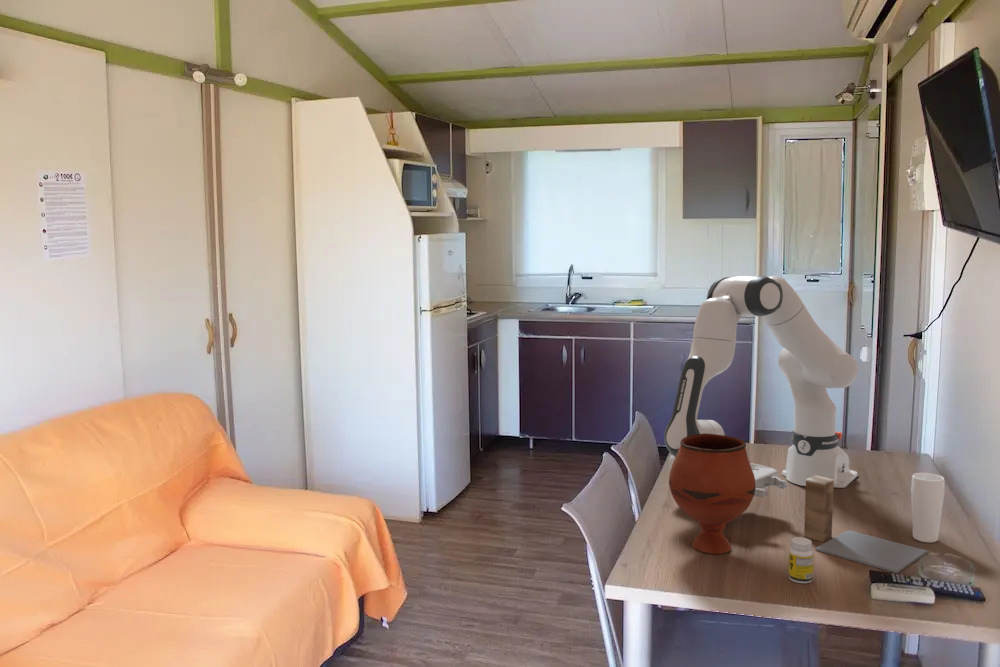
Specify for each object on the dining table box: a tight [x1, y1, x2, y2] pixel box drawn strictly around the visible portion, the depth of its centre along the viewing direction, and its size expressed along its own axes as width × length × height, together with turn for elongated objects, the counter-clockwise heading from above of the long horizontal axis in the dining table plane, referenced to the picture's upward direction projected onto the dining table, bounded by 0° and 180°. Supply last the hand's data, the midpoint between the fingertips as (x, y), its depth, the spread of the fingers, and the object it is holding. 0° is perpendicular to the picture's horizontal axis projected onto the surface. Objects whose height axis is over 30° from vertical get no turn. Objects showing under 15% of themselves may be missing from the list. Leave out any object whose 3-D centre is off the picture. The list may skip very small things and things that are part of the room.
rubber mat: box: [815, 529, 928, 574], centre depth 189 cm, size 16×18×1 cm
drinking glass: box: [910, 472, 945, 544], centre depth 194 cm, size 7×7×15 cm
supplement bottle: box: [788, 536, 814, 584], centre depth 174 cm, size 5×5×8 cm
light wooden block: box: [803, 475, 834, 543], centre depth 197 cm, size 4×4×14 cm
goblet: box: [668, 433, 756, 555], centre depth 191 cm, size 19×19×25 cm
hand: (775, 489), depth 205 cm, fingers open, 8 cm apart
